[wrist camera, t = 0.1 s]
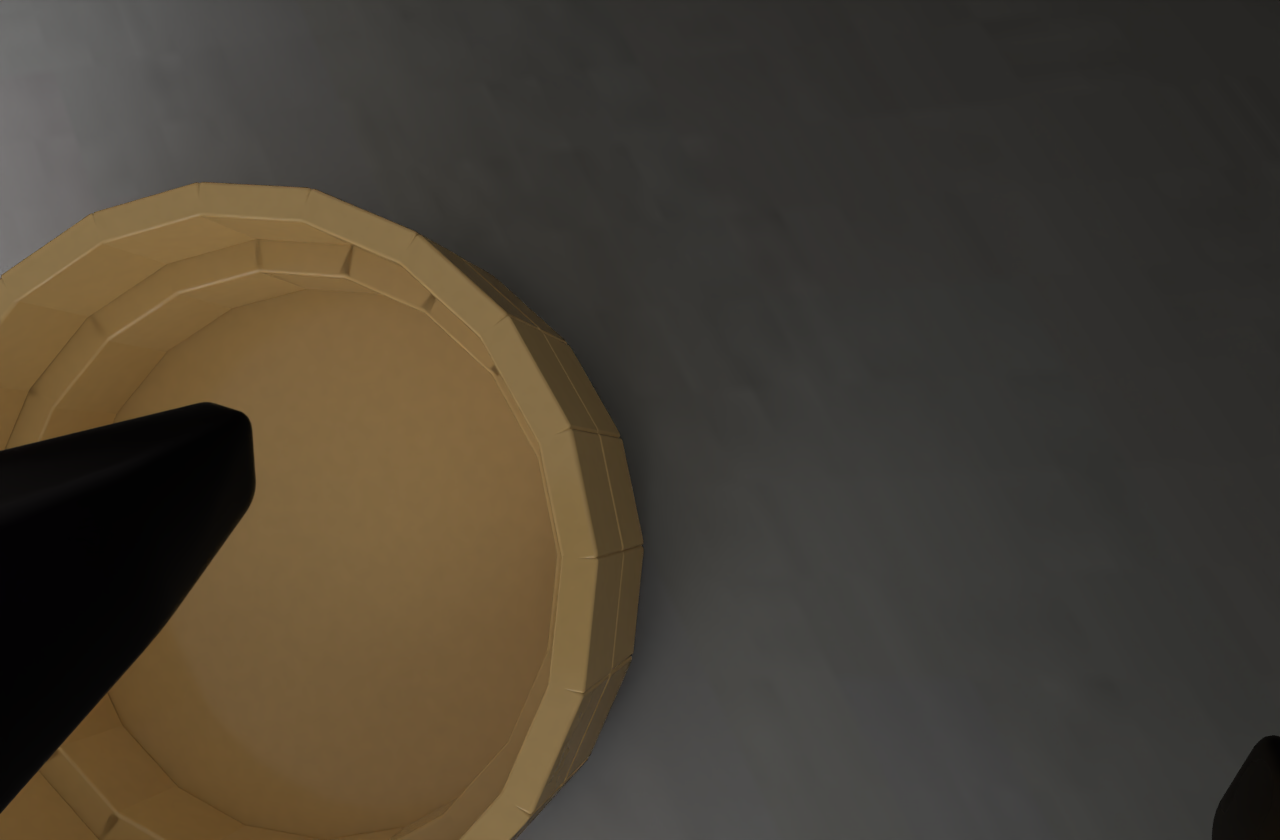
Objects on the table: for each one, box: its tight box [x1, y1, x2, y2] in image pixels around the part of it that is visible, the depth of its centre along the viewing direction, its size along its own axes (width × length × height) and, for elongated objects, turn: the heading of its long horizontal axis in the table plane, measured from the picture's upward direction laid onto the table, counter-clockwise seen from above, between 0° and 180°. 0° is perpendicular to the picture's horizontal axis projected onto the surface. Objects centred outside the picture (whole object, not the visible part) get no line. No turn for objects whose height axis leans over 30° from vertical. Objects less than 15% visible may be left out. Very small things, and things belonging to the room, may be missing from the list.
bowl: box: [0, 182, 644, 840], centre depth 24 cm, size 15×15×5 cm
